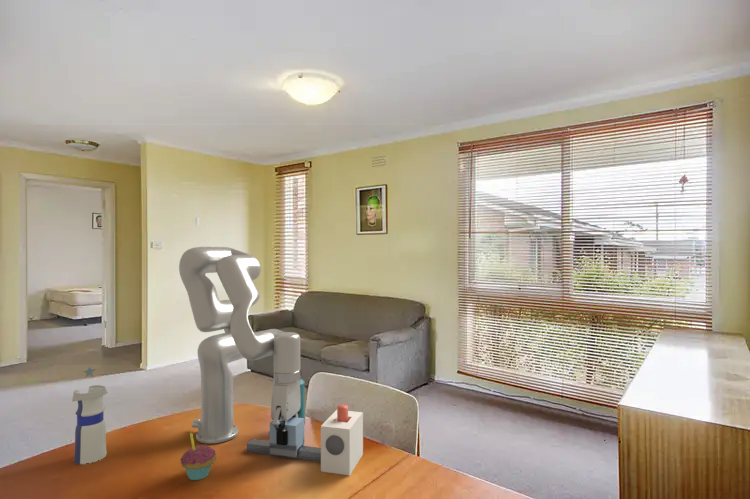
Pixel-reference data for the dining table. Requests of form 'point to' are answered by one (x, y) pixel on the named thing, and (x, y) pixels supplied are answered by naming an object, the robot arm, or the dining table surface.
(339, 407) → the button
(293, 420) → the carriage
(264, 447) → the rail
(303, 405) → the beverage bottle
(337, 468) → the cabinet
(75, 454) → the cream tall piece
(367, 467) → the dining table surface
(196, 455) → the cupcake
